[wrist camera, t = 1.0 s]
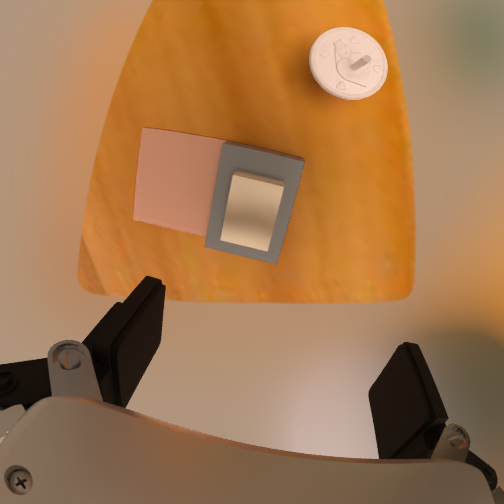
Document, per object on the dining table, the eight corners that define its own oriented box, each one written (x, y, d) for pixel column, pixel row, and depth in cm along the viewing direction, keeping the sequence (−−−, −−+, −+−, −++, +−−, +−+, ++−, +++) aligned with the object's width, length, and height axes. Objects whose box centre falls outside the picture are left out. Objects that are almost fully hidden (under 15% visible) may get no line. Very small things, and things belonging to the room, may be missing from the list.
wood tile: (237, 170, 31) (232, 174, 29) (284, 181, 31) (284, 187, 29) (225, 231, 34) (220, 240, 32) (268, 241, 34) (267, 251, 32)
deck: (228, 140, 32) (222, 143, 30) (303, 157, 32) (304, 162, 30) (210, 236, 38) (204, 246, 35) (277, 253, 38) (276, 264, 35)
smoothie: (323, 113, 30) (348, 112, 17) (292, 65, 28) (294, 31, 15) (372, 89, 28) (424, 76, 15) (341, 40, 26) (373, -2, 13)
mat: (143, 127, 33) (142, 127, 32) (228, 140, 32) (227, 141, 32) (134, 218, 38) (133, 219, 37) (210, 236, 38) (209, 238, 37)
